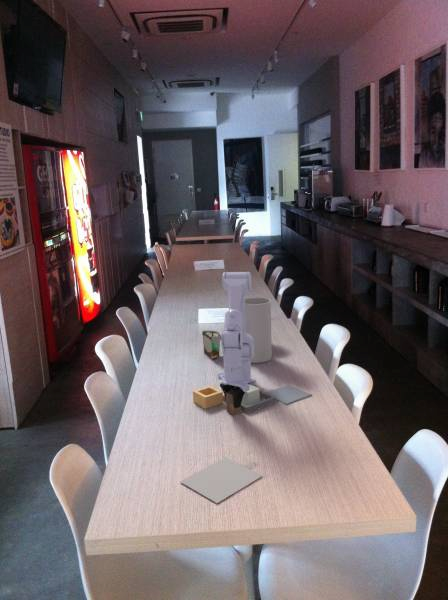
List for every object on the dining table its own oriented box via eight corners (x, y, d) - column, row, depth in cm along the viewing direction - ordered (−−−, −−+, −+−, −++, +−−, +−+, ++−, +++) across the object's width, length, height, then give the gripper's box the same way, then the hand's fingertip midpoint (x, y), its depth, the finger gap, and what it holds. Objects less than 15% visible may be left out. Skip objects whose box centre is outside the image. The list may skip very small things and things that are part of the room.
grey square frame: (222, 401, 194) (222, 395, 194) (252, 391, 202) (251, 386, 201) (246, 413, 184) (246, 407, 184) (276, 402, 192) (276, 397, 191)
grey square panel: (157, 470, 152) (157, 468, 152) (223, 438, 169) (222, 436, 169) (217, 505, 136) (217, 503, 135) (283, 465, 153) (283, 463, 152)
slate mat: (263, 394, 199) (263, 392, 199) (288, 385, 206) (288, 384, 206) (286, 404, 190) (286, 403, 190) (311, 395, 197) (311, 394, 197)
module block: (239, 401, 194) (238, 388, 192) (250, 398, 196) (250, 384, 195) (248, 406, 190) (247, 392, 189) (259, 402, 193) (259, 388, 191)
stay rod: (226, 411, 186) (226, 392, 184) (234, 409, 188) (234, 389, 186) (233, 415, 183) (232, 395, 182) (241, 412, 185) (240, 392, 184)
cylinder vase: (235, 358, 236) (234, 301, 230) (257, 351, 244) (256, 295, 238) (256, 366, 227) (254, 306, 221) (277, 358, 235) (277, 300, 229)
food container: (226, 358, 236) (225, 336, 234) (212, 361, 234) (211, 338, 232) (216, 350, 248) (215, 328, 245) (202, 352, 245) (201, 330, 243)
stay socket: (193, 401, 195) (192, 391, 194) (210, 396, 199) (210, 385, 198) (205, 408, 189) (205, 397, 188) (223, 402, 193) (222, 391, 192)
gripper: (209, 363, 185) (211, 401, 188) (236, 375, 174) (237, 416, 177) (226, 358, 189) (227, 396, 192) (254, 370, 178) (255, 409, 181)
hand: (233, 405), depth 185 cm, fingers open, 3 cm apart
